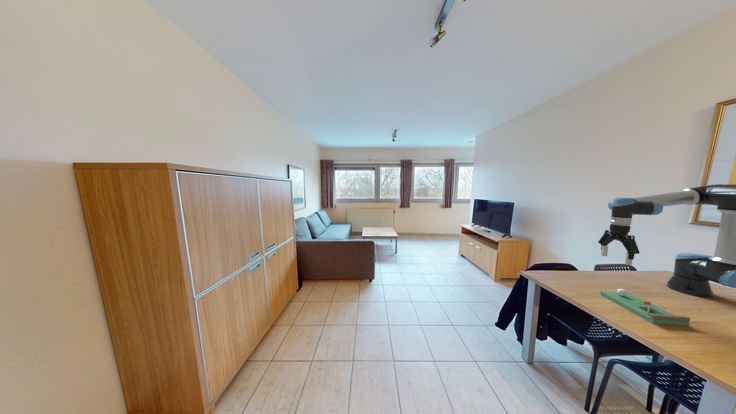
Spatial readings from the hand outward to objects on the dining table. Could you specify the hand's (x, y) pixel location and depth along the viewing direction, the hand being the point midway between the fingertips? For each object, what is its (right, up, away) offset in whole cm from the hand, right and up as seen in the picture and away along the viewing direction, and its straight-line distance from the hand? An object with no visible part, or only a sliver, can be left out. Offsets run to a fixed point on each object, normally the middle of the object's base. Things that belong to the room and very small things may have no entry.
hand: (615, 260), depth 121 cm
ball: (0, -18, -3) cm, 18 cm away
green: (-1, -23, -12) cm, 26 cm away
